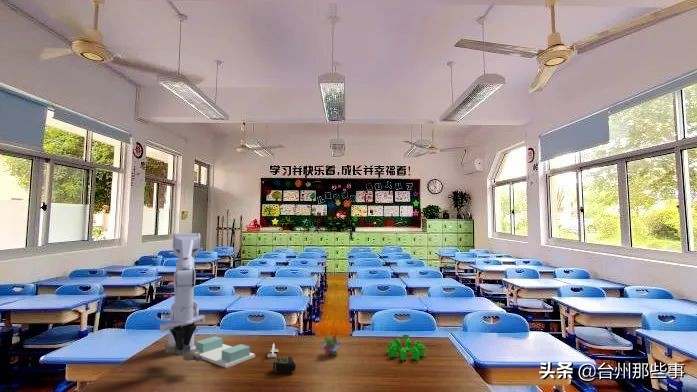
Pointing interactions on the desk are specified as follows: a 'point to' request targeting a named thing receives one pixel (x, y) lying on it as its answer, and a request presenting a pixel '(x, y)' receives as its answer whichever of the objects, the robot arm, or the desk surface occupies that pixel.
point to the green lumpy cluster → (406, 349)
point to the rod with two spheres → (184, 352)
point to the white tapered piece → (273, 351)
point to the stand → (223, 352)
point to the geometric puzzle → (331, 345)
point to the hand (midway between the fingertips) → (182, 348)
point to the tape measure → (284, 365)
